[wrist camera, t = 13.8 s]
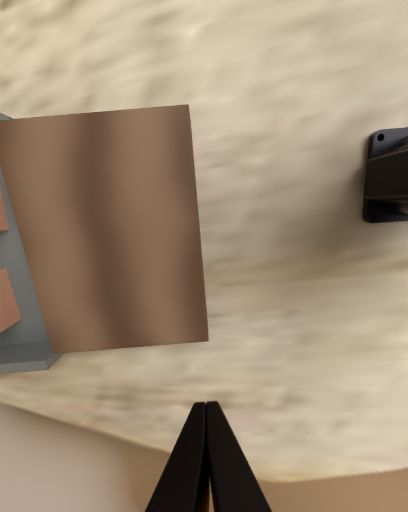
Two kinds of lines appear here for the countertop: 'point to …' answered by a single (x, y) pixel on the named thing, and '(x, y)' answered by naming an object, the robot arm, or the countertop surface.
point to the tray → (21, 304)
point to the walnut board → (109, 225)
